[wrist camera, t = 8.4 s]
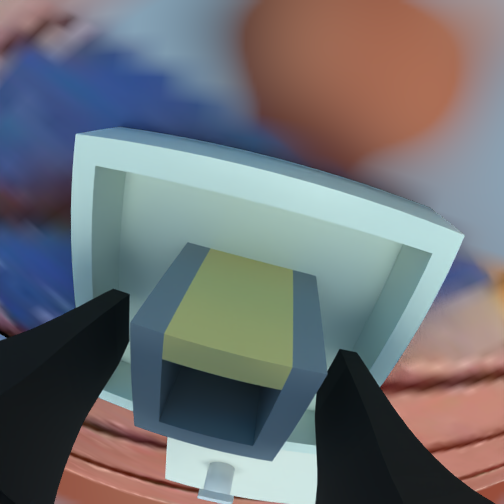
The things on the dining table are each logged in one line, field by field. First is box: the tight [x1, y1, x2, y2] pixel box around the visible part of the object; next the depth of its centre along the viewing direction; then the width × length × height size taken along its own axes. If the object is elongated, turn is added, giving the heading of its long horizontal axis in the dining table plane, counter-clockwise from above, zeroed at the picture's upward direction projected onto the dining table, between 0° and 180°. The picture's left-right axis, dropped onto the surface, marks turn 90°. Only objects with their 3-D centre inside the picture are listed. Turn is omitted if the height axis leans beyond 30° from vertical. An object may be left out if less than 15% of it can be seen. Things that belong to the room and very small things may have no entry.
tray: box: [71, 127, 465, 454], centre depth 11 cm, size 11×11×3 cm
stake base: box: [165, 437, 317, 504], centre depth 15 cm, size 14×10×4 cm
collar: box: [130, 242, 327, 461], centre depth 9 cm, size 4×4×4 cm
